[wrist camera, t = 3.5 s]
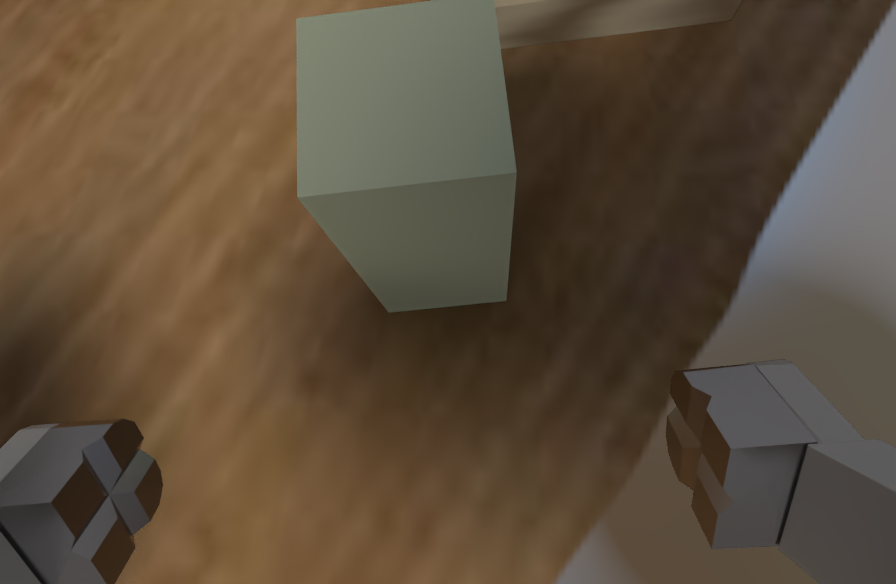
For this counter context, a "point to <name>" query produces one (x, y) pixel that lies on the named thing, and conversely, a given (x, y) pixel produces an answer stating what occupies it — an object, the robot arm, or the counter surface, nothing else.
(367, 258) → the green block
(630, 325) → the counter surface
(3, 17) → the counter surface
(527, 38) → the tower base
